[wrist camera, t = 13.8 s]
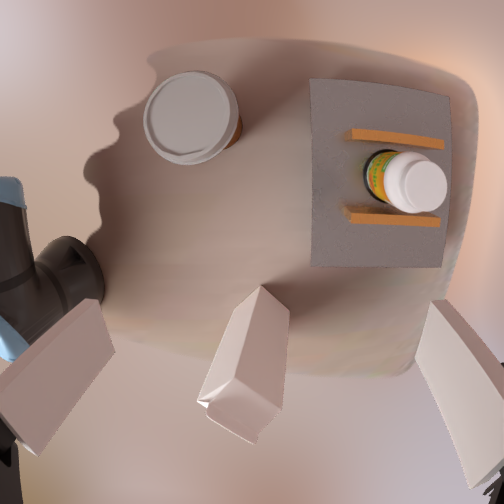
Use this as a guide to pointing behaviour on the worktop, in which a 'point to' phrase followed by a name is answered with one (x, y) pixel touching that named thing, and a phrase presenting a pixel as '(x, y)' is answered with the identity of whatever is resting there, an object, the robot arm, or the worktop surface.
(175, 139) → the disposable coffee cup
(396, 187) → the supplement bottle
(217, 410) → the milk
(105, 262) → the worktop surface
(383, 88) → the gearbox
